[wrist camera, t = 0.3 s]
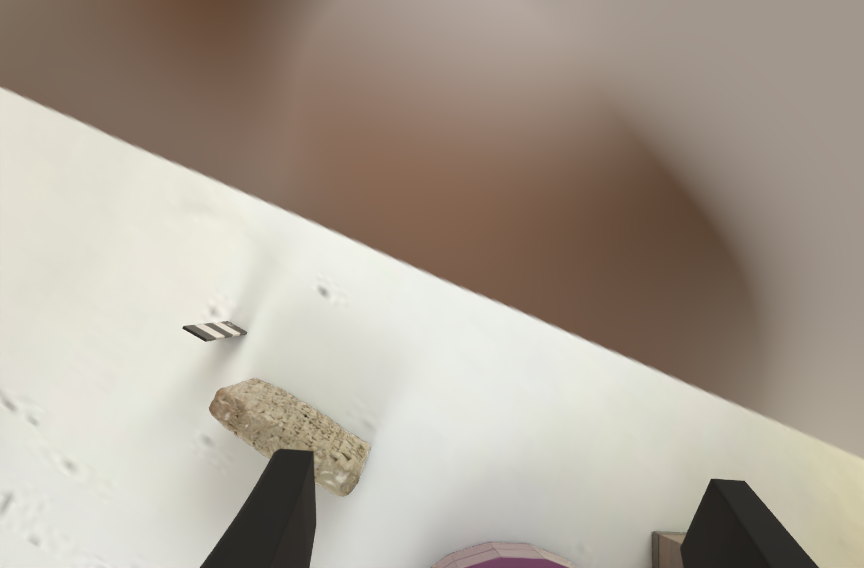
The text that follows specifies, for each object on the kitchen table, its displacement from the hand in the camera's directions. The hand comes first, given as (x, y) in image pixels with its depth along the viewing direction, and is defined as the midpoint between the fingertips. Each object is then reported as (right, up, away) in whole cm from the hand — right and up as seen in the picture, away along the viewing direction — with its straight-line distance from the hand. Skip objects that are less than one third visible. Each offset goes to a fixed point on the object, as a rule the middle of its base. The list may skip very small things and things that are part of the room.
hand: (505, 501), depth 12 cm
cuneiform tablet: (-10, -4, +29) cm, 31 cm away
